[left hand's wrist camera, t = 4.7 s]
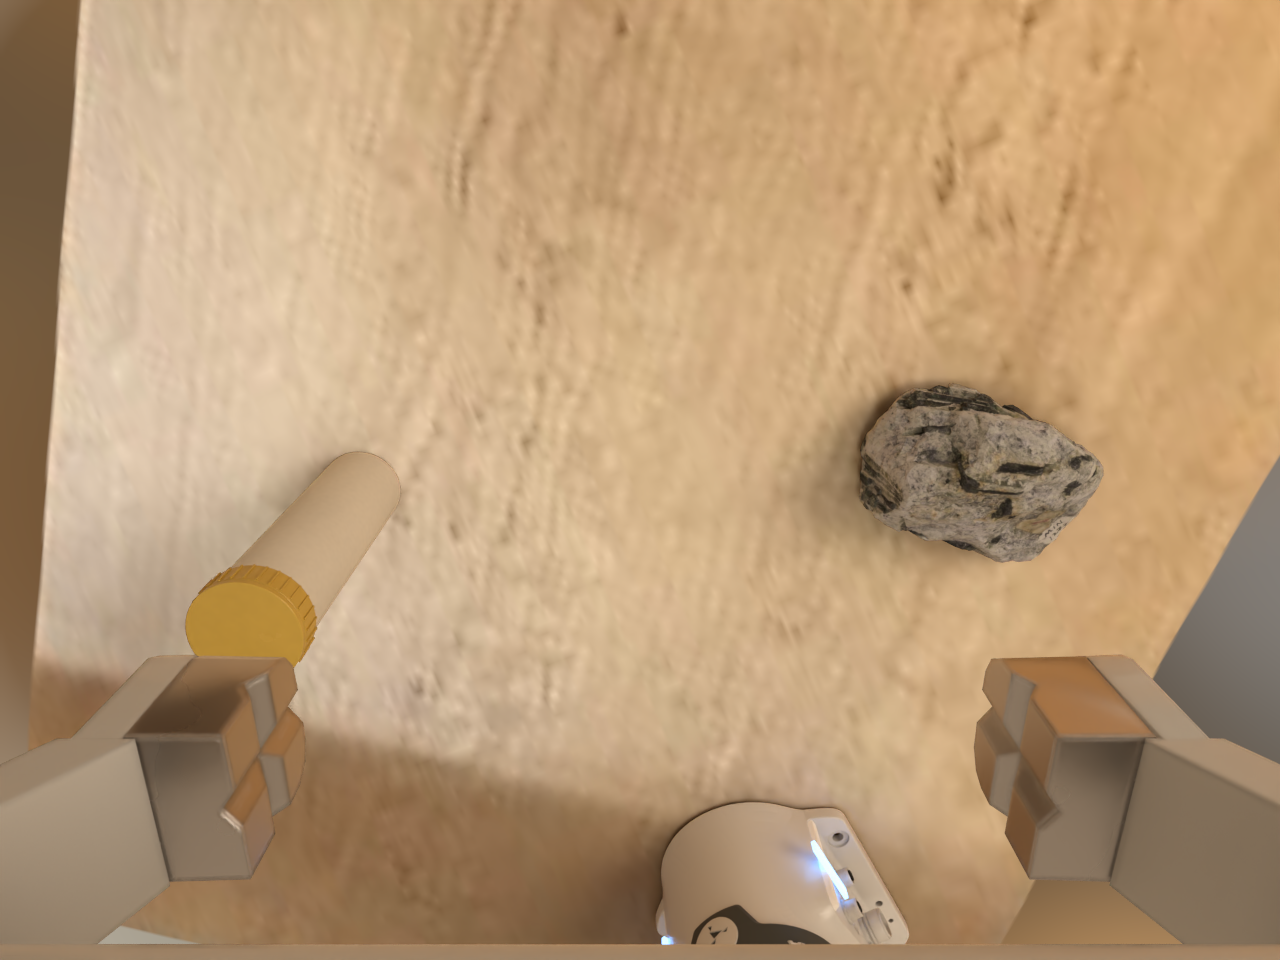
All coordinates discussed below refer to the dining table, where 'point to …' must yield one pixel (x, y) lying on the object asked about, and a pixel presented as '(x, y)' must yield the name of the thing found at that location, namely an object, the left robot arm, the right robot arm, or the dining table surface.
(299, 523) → the jar
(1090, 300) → the dining table surface
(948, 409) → the rock
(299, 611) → the lid
